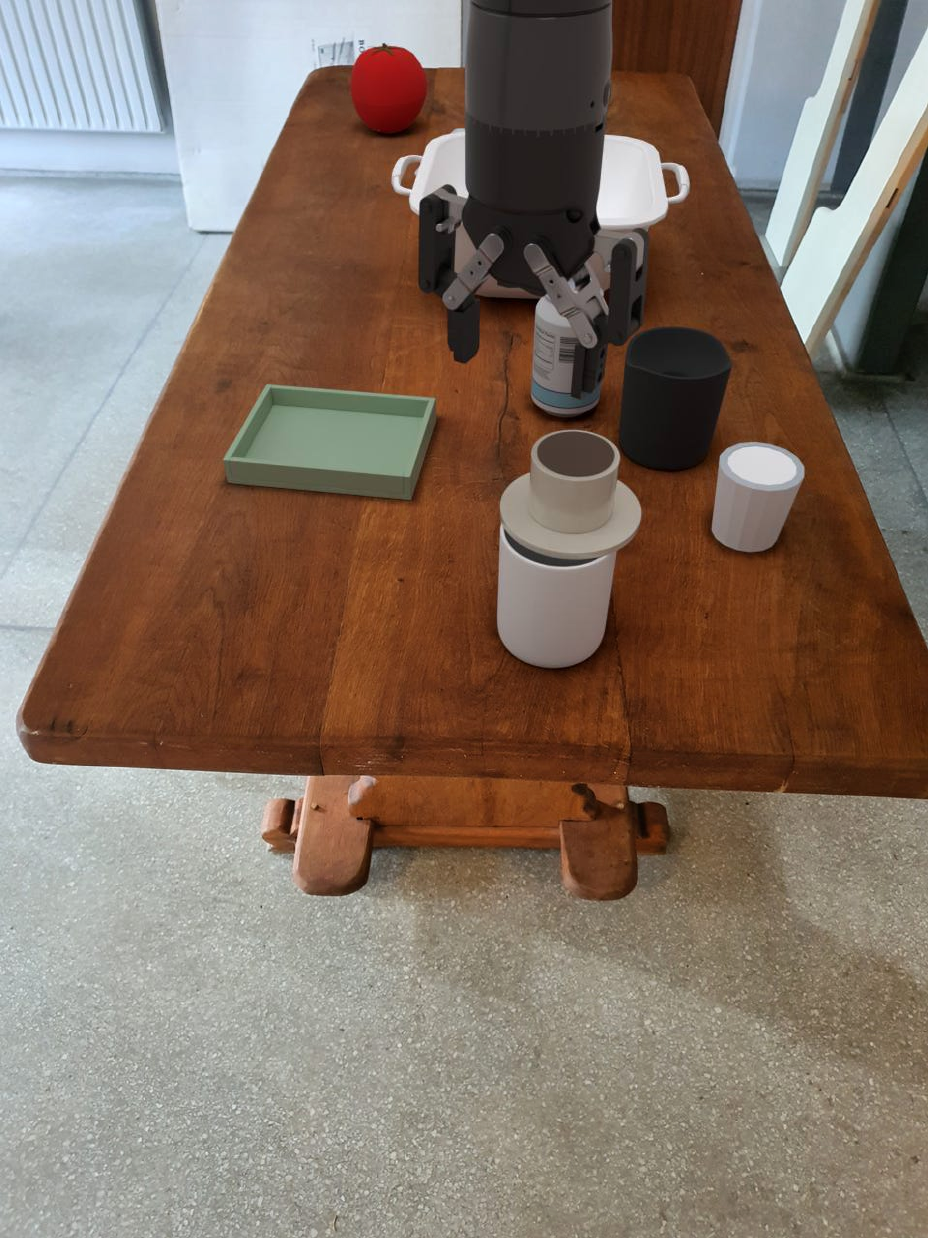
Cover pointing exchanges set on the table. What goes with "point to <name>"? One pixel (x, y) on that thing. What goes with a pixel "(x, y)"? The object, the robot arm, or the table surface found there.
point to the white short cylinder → (754, 495)
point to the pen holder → (672, 396)
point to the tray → (333, 441)
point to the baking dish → (622, 203)
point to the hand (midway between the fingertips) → (523, 375)
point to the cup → (551, 604)
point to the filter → (571, 499)
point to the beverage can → (556, 362)
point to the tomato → (388, 88)
